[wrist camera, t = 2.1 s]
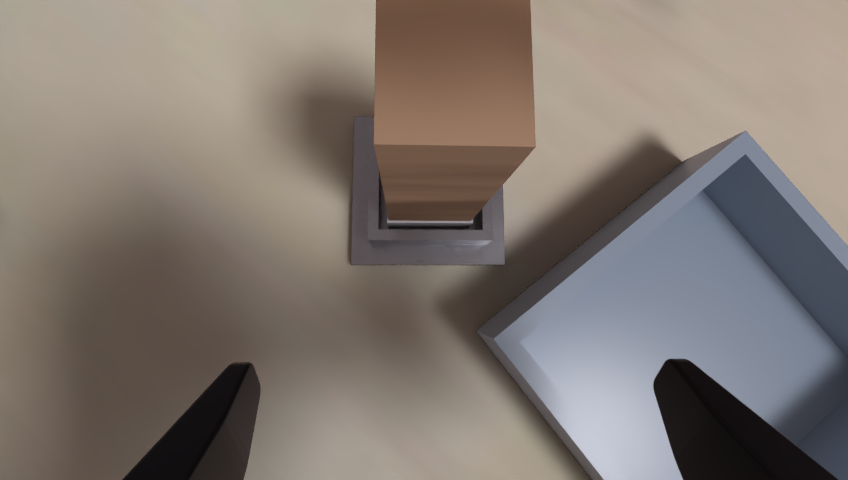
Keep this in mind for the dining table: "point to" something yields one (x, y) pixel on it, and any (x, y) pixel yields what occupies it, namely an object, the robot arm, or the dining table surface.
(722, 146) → the bin
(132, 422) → the dining table surface
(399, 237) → the socket block
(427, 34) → the strut
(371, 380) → the dining table surface
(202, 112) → the dining table surface
